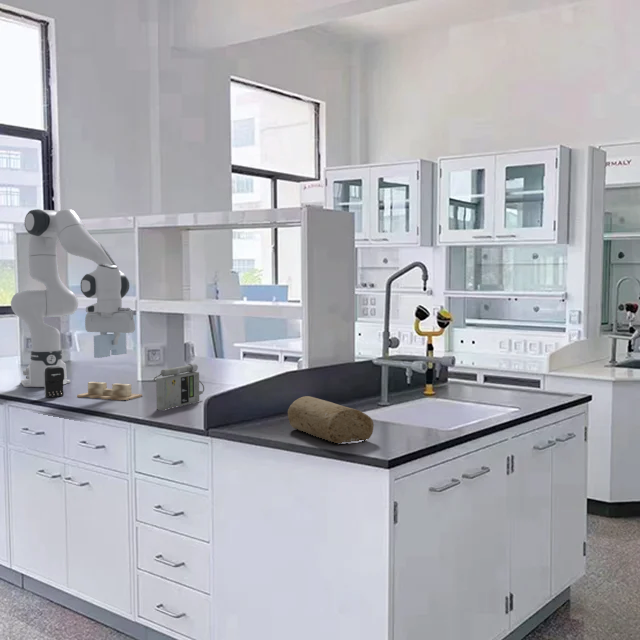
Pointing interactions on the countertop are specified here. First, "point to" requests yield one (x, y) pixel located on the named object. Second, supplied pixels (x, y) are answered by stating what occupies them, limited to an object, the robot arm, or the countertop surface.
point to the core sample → (329, 420)
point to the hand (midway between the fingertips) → (110, 344)
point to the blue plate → (109, 345)
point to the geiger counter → (178, 387)
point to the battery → (53, 381)
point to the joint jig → (109, 391)
